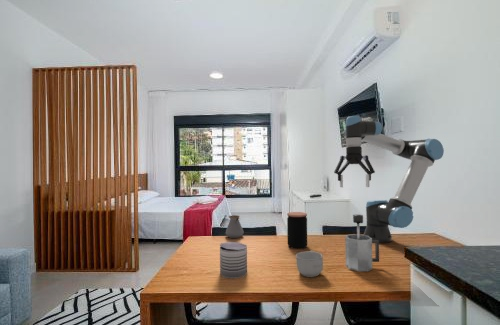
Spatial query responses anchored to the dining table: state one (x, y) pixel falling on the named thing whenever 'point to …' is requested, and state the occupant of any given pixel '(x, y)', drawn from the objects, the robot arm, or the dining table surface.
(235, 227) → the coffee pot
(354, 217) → the plunger
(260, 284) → the dining table surface
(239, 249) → the can
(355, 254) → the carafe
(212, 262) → the dining table surface
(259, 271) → the dining table surface
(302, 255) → the teacup
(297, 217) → the coffee jar
